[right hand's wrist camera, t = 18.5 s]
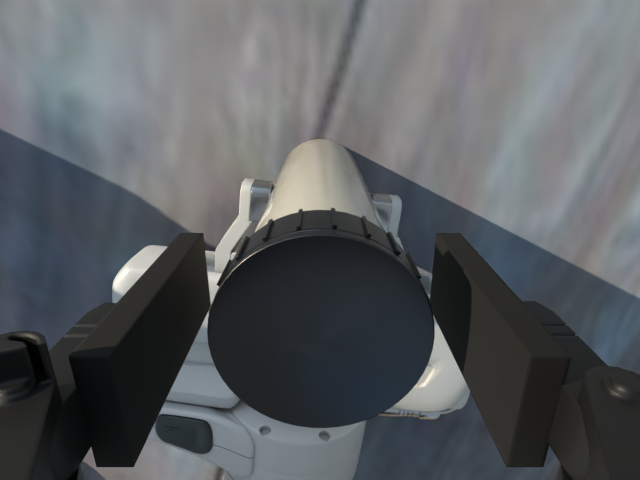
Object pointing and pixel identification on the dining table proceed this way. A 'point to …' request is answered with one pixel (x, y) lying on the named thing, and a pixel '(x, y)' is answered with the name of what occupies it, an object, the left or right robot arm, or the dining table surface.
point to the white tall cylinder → (320, 184)
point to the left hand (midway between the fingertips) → (321, 188)
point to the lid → (320, 320)
